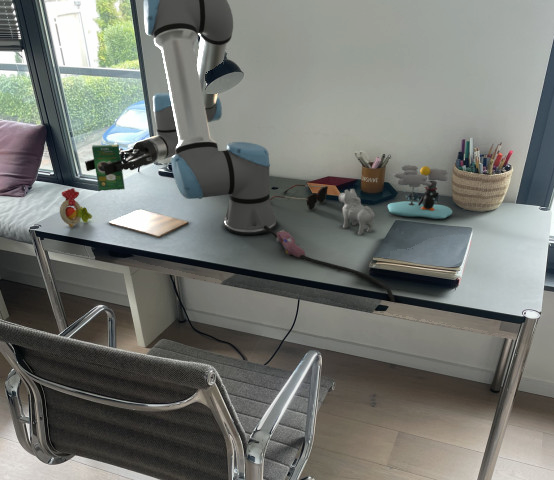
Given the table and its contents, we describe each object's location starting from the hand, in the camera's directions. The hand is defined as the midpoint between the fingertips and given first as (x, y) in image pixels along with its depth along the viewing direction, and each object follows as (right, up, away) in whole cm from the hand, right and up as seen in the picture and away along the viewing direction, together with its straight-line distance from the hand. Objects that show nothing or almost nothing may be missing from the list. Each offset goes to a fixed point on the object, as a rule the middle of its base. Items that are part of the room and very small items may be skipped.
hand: (96, 168), depth 168 cm
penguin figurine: (+98, -12, +8) cm, 99 cm away
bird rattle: (-6, -16, +2) cm, 18 cm away
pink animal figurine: (+58, -28, -15) cm, 66 cm away
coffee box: (+3, -4, +8) cm, 9 cm away
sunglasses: (+60, -5, +17) cm, 63 cm away
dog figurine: (+77, -18, -1) cm, 79 cm away
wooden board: (+15, -16, +2) cm, 22 cm away
